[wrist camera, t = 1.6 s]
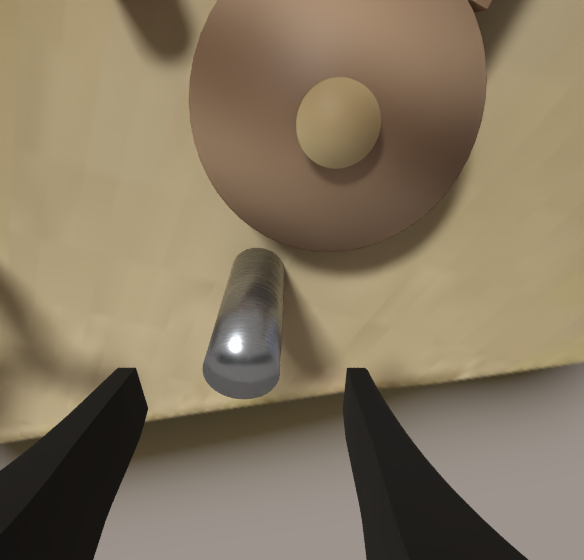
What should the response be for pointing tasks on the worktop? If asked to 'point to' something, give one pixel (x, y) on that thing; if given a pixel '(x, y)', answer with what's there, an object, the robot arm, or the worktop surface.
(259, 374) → the steel pin
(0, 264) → the worktop surface
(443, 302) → the worktop surface
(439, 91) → the wooden disc with frame
